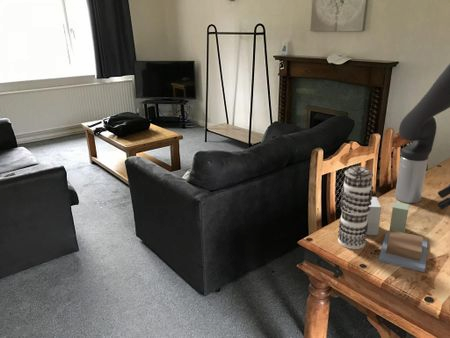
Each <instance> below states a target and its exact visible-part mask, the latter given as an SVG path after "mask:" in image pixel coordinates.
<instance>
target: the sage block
mask: <svg viewBox="0 0 450 338" xmlns="http://www.w3.org/2000/svg"><path fill="white" fill-rule="evenodd" d="M409 209H410V203H406V202H403V203H402V202H398V201H394V203H393V205H392V211H391V218H390V224H389V231H388V232H389V233H390V232H391V230H393V231H398V232H402V233H406V227H407V219H408V214H409Z"/></svg>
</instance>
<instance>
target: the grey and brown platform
mask: <svg viewBox="0 0 450 338" xmlns="http://www.w3.org/2000/svg"><path fill="white" fill-rule="evenodd" d="M380 249H381V250H380V252H379V257H378V261H379V262H381V263H386V264H388V265H389V264H390V265H393V266H397V267H402V268H406V269H409V270H414V271H419V272H422V273H425V271H426V266H427V265H426V263H427V253H428V240H426V239H424V236H421V235H415V234H411V233H408V232H407V233H406V232H405V233H402V232H398V231H393V230H391V232H390V231H386V232H385V236H384V238H383V242H382V246H381V248H380Z"/></svg>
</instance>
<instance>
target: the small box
mask: <svg viewBox="0 0 450 338" xmlns="http://www.w3.org/2000/svg"><path fill="white" fill-rule="evenodd" d="M371 197H372V200H371V205H369V206H368V207H370V211H369V213H368V214H367V218H368V219H367V224H368V228H367V232H366V233H367V235H366V236H379V229H380V222H381V213H382V212H381V211H382V206H381V204H380V202H379V198H378V197H377V196H371Z"/></svg>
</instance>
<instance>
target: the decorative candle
mask: <svg viewBox="0 0 450 338" xmlns="http://www.w3.org/2000/svg"><path fill="white" fill-rule="evenodd" d="M343 174H344V175H345V177H344V181H343V186H342V187H341V191H340V192H341V193H340V197H341V198H340V209H341V215H340V219H339V222H338V224H339V225H338V231H337V233H338V234H337V238H338V239H337V241H338V243H339V244H340V245H341V246H342V247H345V248H347V249H351V250H358V249H363V248H364V247H365V246H366V244H367V243H366V242H367V236H368V235H367V233H366V232H367V228H368V224H367V219H368V218H367V214H368V213H369V211H370V207H368V206H369V205H371V200H372V197H373V196H372V195H374V186H372V181H373V177H374V174H373V172H371V170H370V169H369V168H367V167H365V166H360V165H358V166H357V165H356V166H355V165H354V166H351V167H348V169H346V170H345V171H344V173H343Z"/></svg>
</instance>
